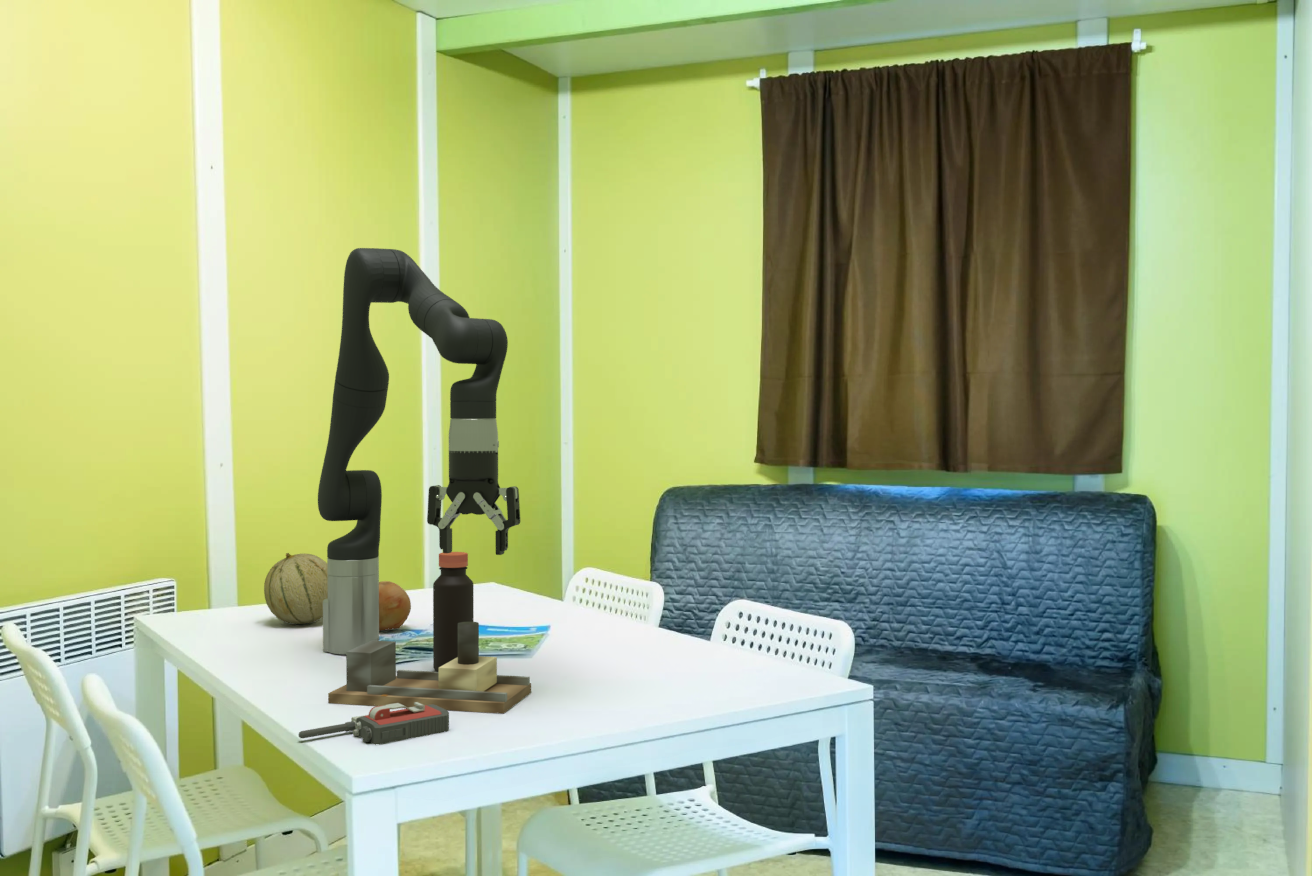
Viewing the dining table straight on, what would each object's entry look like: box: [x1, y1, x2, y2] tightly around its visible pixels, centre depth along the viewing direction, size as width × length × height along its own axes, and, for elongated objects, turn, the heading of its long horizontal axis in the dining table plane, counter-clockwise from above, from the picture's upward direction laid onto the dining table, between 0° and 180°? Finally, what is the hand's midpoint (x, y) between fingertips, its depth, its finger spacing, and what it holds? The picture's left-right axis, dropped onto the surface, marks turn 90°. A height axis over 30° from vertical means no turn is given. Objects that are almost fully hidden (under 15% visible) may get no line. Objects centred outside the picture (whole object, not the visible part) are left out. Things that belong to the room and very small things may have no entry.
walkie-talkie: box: [298, 702, 450, 745], centre depth 161 cm, size 9×4×20 cm
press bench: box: [327, 640, 532, 715], centre depth 182 cm, size 28×13×8 cm, turn 78°
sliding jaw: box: [439, 621, 498, 691], centre depth 180 cm, size 6×9×10 cm, turn 168°
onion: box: [379, 580, 412, 632], centre depth 236 cm, size 10×10×10 cm
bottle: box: [432, 551, 474, 672], centre depth 201 cm, size 7×7×20 cm
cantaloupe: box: [263, 552, 328, 625], centre depth 243 cm, size 15×15×15 cm
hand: (473, 553), depth 181 cm, fingers open, 8 cm apart
